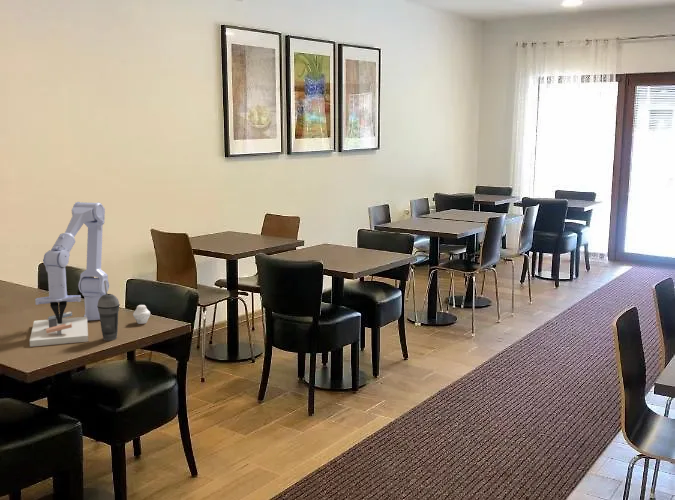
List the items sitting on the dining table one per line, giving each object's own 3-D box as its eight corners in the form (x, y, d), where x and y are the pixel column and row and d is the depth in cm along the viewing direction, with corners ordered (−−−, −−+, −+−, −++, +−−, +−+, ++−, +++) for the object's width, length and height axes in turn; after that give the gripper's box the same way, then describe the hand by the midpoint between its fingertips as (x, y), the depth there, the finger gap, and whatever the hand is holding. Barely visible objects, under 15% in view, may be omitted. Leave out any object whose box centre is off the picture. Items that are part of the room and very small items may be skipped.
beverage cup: (108, 343, 230) (105, 284, 227) (94, 339, 234) (91, 281, 230) (125, 337, 236) (123, 280, 233) (111, 334, 240) (108, 278, 236)
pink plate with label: (71, 325, 235) (71, 322, 235) (71, 327, 232) (71, 324, 232) (47, 331, 233) (46, 328, 232) (46, 333, 230) (46, 330, 230)
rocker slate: (72, 313, 250) (71, 310, 250) (72, 315, 247) (71, 312, 247) (49, 319, 247) (48, 316, 247) (48, 321, 245) (47, 318, 244)
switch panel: (87, 321, 255) (86, 312, 255) (88, 341, 231) (87, 331, 231) (34, 326, 249) (33, 317, 249) (29, 346, 225) (29, 336, 225)
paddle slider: (57, 326, 241) (56, 318, 241) (56, 328, 238) (56, 320, 238) (49, 327, 240) (49, 318, 240) (49, 329, 237) (48, 320, 237)
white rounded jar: (130, 322, 255) (129, 304, 253) (144, 319, 259) (144, 301, 258) (139, 326, 250) (138, 307, 249) (153, 322, 255) (153, 304, 254)
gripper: (33, 288, 231) (36, 327, 233) (79, 285, 236) (82, 324, 239) (35, 284, 238) (37, 322, 240) (79, 281, 243) (81, 318, 245)
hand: (59, 322), depth 240 cm, fingers closed
